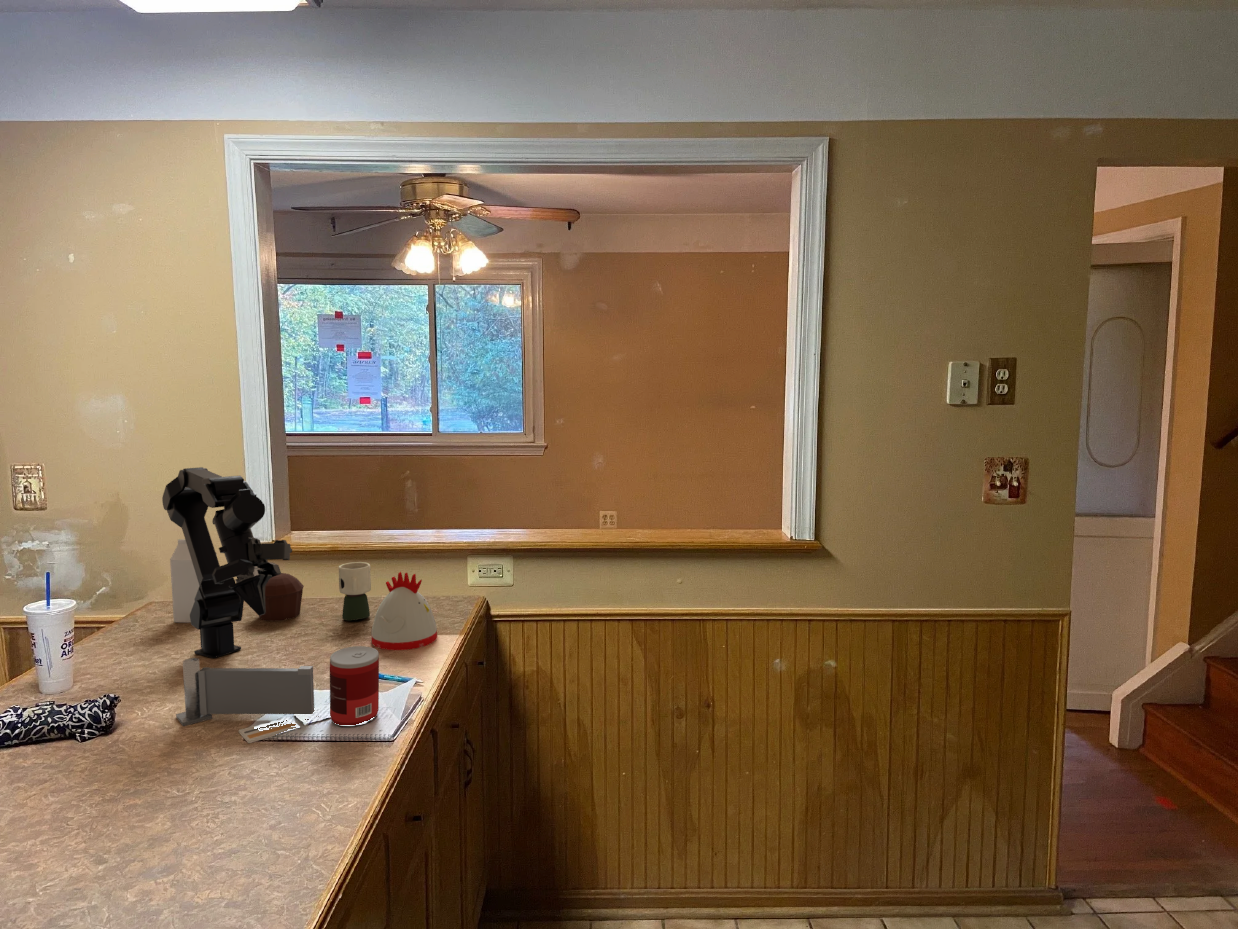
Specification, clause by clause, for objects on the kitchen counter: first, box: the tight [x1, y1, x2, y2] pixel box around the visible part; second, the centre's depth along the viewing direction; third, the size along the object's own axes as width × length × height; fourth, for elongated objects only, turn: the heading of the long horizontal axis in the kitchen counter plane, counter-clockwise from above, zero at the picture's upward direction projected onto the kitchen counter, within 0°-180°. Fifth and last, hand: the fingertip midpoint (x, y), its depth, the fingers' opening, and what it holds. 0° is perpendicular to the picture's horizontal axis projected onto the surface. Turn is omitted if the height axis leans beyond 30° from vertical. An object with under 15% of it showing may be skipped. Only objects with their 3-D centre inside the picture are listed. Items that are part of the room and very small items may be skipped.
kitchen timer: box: [370, 571, 438, 651], centre depth 170 cm, size 14×14×15 cm
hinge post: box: [175, 657, 213, 727], centre depth 130 cm, size 4×4×10 cm
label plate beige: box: [238, 720, 296, 744], centre depth 127 cm, size 8×5×1 cm, turn 132°
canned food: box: [329, 645, 380, 726], centre depth 131 cm, size 8×8×11 cm
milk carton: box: [169, 538, 217, 623], centre depth 183 cm, size 7×7×19 cm
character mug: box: [338, 561, 372, 622], centre depth 184 cm, size 11×7×13 cm, turn 16°
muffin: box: [258, 572, 305, 622], centre depth 187 cm, size 12×11×10 cm
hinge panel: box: [198, 665, 315, 715], centre depth 130 cm, size 18×2×8 cm, turn 90°
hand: (262, 614), depth 149 cm, fingers closed
